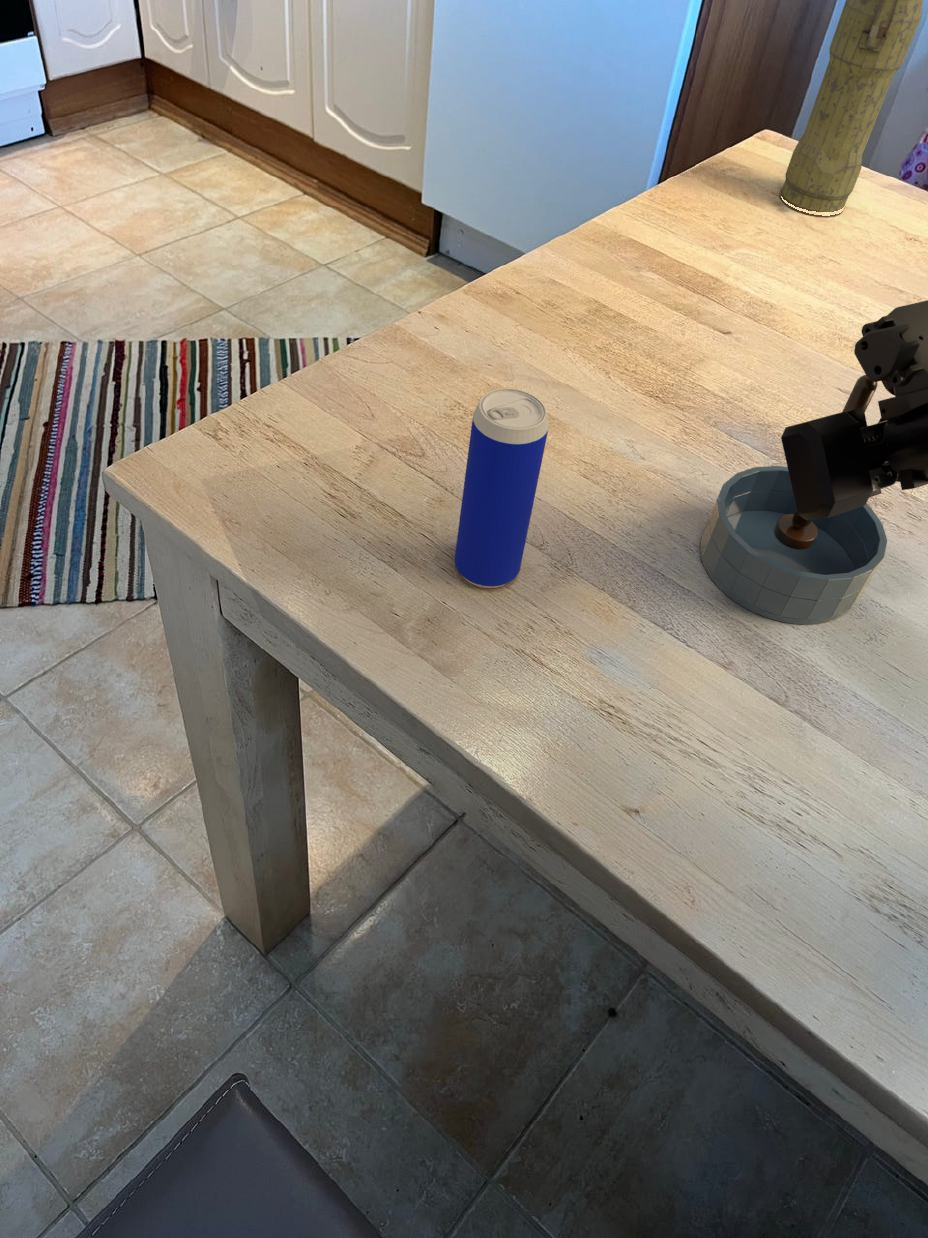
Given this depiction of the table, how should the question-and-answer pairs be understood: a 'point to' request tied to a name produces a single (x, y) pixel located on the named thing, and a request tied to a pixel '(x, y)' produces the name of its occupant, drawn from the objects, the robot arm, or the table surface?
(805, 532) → the stirrer
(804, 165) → the olive tall cylinder
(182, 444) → the table surface
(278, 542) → the table surface
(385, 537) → the table surface
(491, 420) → the beverage can
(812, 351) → the table surface
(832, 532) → the bowl
